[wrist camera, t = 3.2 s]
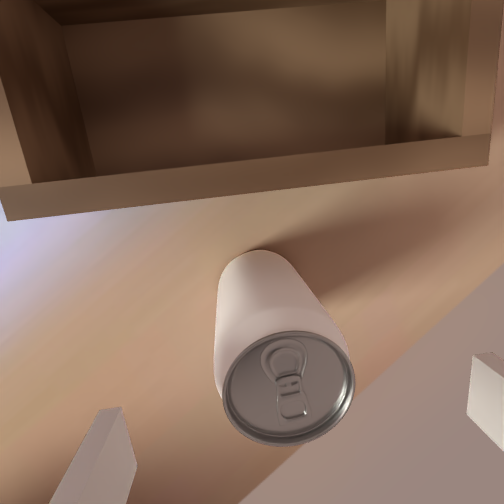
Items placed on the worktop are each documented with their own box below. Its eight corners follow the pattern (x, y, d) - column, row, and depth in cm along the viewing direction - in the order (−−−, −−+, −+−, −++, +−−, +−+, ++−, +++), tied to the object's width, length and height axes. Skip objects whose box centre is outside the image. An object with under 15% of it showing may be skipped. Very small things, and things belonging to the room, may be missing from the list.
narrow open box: (397, 169, 22) (488, 165, 15) (87, 204, 21) (7, 221, 13) (400, -21, 19) (518, -153, 11) (37, 7, 18) (-105, -122, 10)
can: (290, 240, 23) (358, 305, 11) (302, 314, 25) (372, 436, 13) (209, 257, 23) (194, 342, 11) (227, 330, 24) (229, 470, 13)
